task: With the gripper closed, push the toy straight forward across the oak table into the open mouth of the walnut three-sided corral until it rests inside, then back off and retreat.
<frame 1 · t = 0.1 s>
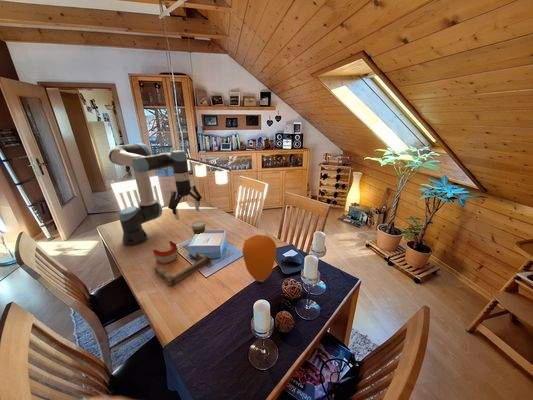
hand: (187, 214, 130), 28 cm above the table, fingers open, 13 cm apart
orange egg-shaped ornament: (260, 279, 120), on the table
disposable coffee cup: (200, 239, 159), on the table
corral: (182, 267, 129), on the table
toy: (169, 259, 137), on the table
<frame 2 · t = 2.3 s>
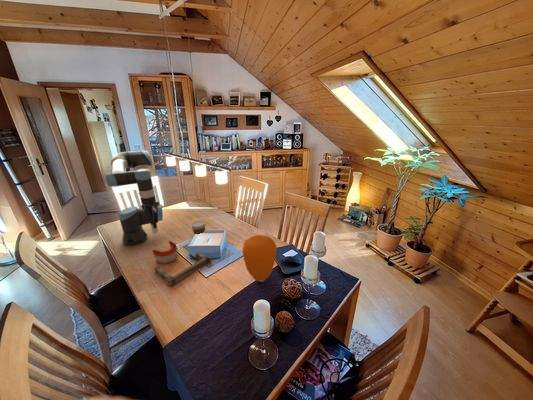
hand: (155, 232, 138), 15 cm above the table, fingers closed
nothing on the table moved.
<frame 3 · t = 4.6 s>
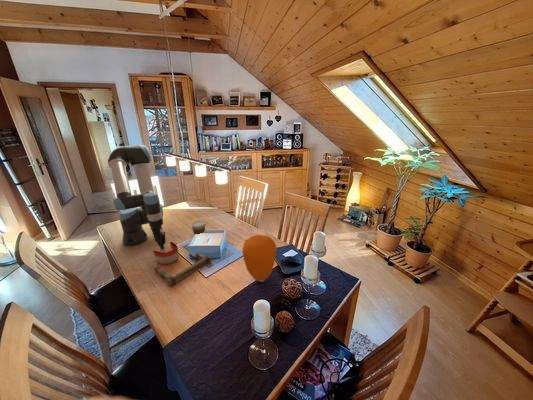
hand: (162, 252, 141), 2 cm above the table, fingers closed
toy: (170, 260, 136), on the table, touching gripper
everything else where it was.
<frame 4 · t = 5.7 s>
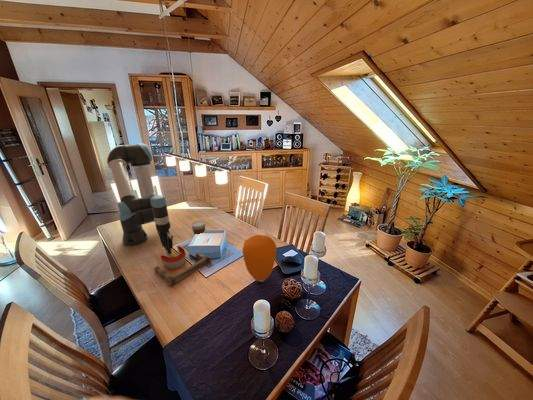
hand: (169, 257, 136), 2 cm above the table, fingers closed
toy: (177, 265, 132), on the table, touching gripper
everything else where it was.
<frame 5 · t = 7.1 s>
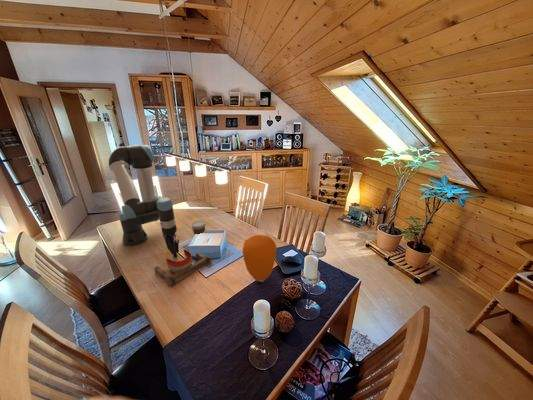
hand: (175, 261, 133), 1 cm above the table, fingers closed
toy: (183, 269, 128), on the table, touching gripper
everything else where it was.
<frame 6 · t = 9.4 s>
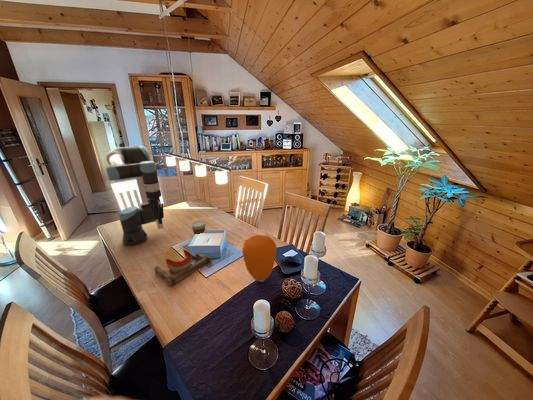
hand: (160, 228, 132), 20 cm above the table, fingers closed
toy: (183, 269, 128), on the table
everything else where it was.
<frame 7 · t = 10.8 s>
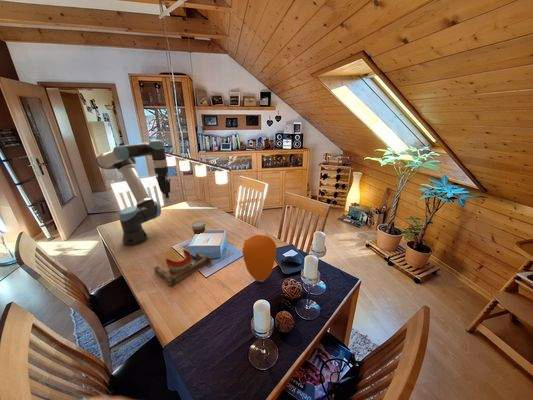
hand: (167, 202, 145), 29 cm above the table, fingers closed
nothing on the table moved.
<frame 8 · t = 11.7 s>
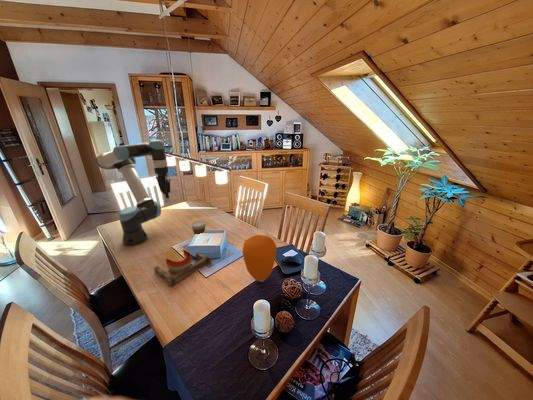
hand: (167, 202, 145), 29 cm above the table, fingers closed
nothing on the table moved.
at the end: toy inside the target area on the corral (0.8 cm from its centre), point 0.0 cm above the corral's base; toy moved 14.9 cm from its start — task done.
